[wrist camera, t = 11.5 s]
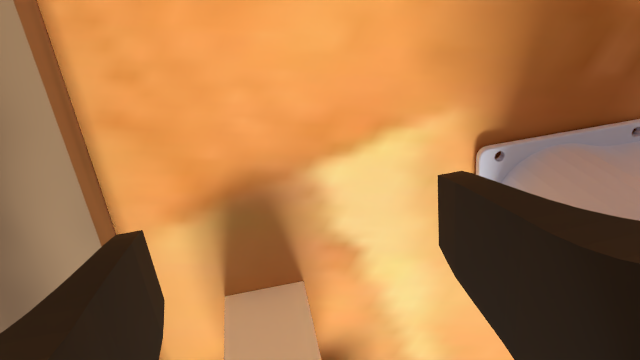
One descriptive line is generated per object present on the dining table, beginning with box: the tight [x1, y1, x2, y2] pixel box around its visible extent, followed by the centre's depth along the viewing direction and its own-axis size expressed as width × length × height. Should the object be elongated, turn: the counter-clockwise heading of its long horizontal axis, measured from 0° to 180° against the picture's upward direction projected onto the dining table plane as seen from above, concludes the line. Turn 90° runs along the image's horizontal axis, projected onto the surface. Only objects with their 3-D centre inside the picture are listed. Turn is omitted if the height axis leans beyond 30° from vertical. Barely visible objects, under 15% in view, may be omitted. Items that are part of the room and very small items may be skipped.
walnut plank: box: [0, 0, 116, 333], centre depth 22 cm, size 8×30×2 cm, turn 7°
